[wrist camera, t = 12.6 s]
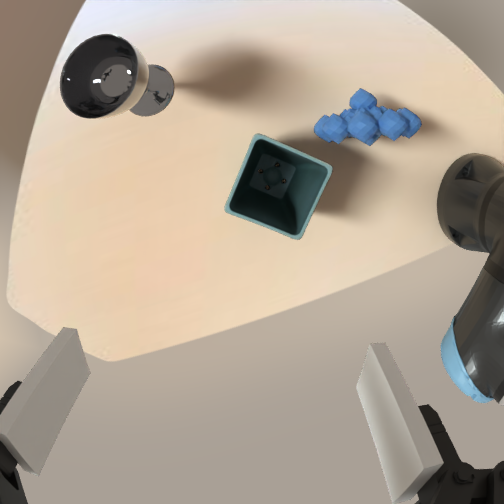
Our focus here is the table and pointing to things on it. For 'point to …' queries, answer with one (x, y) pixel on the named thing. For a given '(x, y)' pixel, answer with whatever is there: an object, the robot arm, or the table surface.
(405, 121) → the grapes
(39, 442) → the robot arm
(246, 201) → the flower pot
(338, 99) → the table surface
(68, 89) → the wine glass
